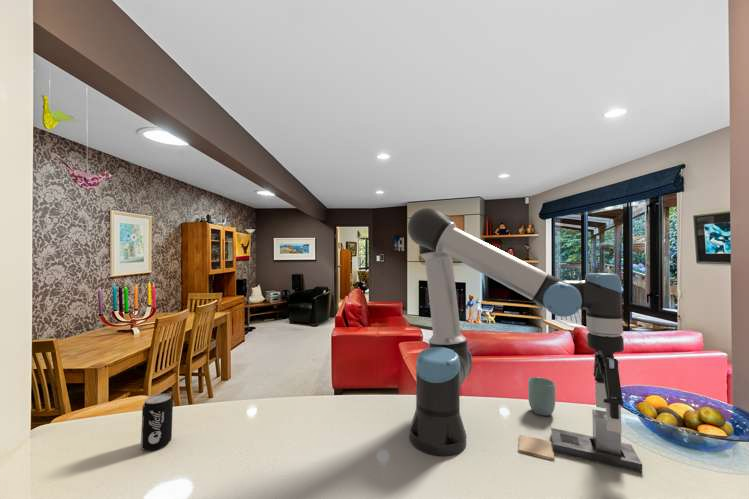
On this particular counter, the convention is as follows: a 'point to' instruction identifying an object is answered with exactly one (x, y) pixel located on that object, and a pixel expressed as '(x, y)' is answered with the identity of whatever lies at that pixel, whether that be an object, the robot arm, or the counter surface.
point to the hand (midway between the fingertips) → (607, 418)
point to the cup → (541, 395)
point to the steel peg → (604, 435)
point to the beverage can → (156, 422)
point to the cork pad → (536, 447)
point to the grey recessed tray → (583, 449)
